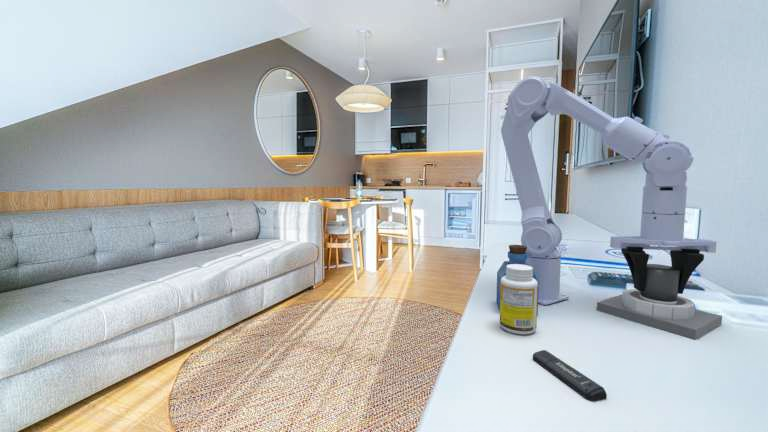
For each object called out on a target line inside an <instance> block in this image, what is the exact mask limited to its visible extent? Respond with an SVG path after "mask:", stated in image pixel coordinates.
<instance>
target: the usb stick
mask: <svg viewBox="0 0 768 432" xmlns="http://www.w3.org/2000/svg"><path fill="white" fill-rule="evenodd" d="M532 361H534V362H536V363H538V365H540V366H541V367H543V369H545V370H547V371H548V372H549V373H551V374H552V375H553V376H555V377H556V378H557V379H559V380H560V381H561V382H563V383H564V384H566V385H567V386H569V387H570V388H571V389H572V390H574V392H575V391H576V392H577V393H578V394H580V395H581V396H582V397H584V398H585V399H586V400H588V401H592V402H599V401H604V400H606V399H607V397H608V396H607V392H606V390H605V388H604V387H603V386H601V385H600V384H599V383H597V382H595V381H594V380H592V379H591V378H589V377H588V376H586V375H585V374H583V373H581V372H580V371H578V370H577V369H575V368H574V367H573V366H571V365H570V364H568V363H566V362H565V361H563V360H561V359H560V358H558V357H557V356H555V355H554V354H552V353H551V352H549V351H548V350H545V349H542V350H539V351H536V352H533V354H532Z"/></svg>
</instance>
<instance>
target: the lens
mask: <svg viewBox="0 0 768 432" xmlns="http://www.w3.org/2000/svg"><path fill="white" fill-rule="evenodd" d="M679 275H680V270H679V269H678V268H675V267H672V265H671V266H670V265H667V264H666V265H665V264H657V263H647V267H646V272H645V287H644V291H640V299H641V300H644V301H648V302H652V303H658V304H665V305H677V296H679V294H678V286H679Z"/></svg>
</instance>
